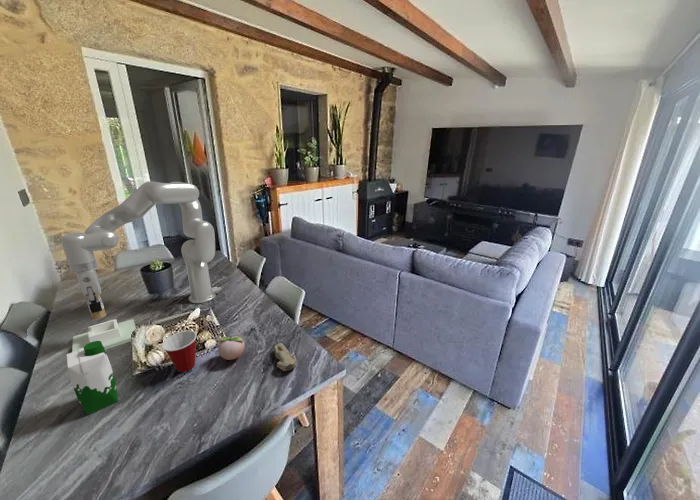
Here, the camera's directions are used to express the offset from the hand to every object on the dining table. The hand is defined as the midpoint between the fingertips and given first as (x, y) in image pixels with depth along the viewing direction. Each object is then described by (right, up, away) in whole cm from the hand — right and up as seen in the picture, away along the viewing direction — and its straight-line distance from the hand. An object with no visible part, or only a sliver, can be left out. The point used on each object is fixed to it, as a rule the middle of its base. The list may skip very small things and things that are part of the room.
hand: (96, 308), depth 113 cm
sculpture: (+75, -19, -5) cm, 78 cm away
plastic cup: (+40, -19, -9) cm, 46 cm away
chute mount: (0, -14, +5) cm, 14 cm away
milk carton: (+23, -24, -24) cm, 41 cm away
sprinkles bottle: (0, -4, +1) cm, 4 cm away
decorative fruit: (+56, -18, -5) cm, 59 cm away
